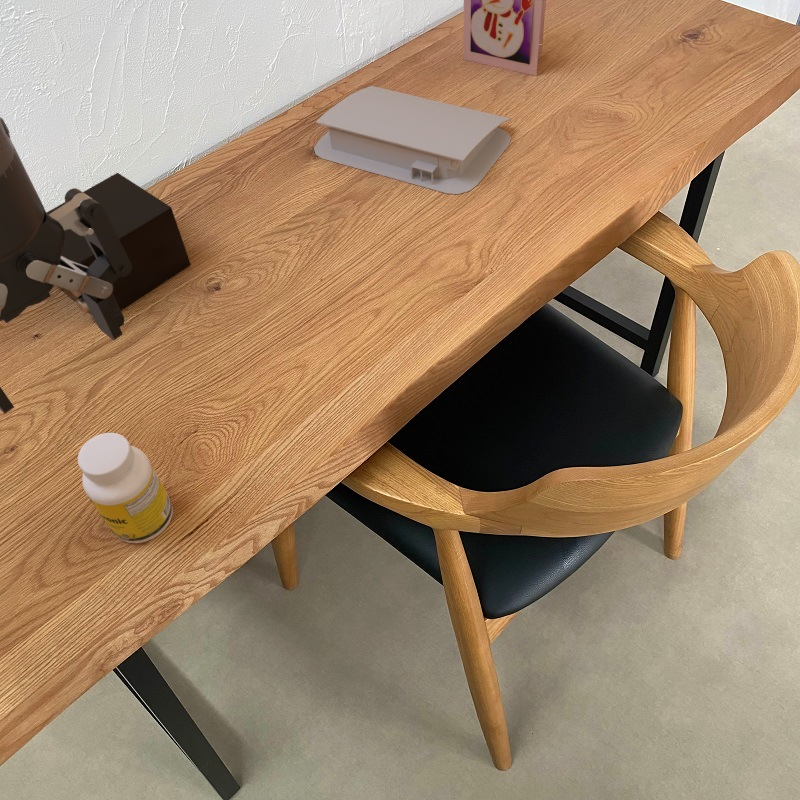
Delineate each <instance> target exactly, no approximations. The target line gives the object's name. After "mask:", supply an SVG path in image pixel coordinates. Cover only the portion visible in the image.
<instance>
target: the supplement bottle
mask: <svg viewBox="0 0 800 800" xmlns="http://www.w3.org/2000/svg"><path fill="white" fill-rule="evenodd" d="M77 463H78V467H79V468H80V470H81V472H82V478H81V483H82V488H83V490H84V492H85V494H86V496H87V498H89V500H90V501H91V503H92V505H94V507H95V509H96V510H97V512H98V513H99V515H100V516H101V517H102V519H103V520H104V521H105V523H106V525H107V526H108V528H109V529H110V531H111V532H112V534H114V536H115V537H116V538H118V539H119V540H120V541H122V542H125V543H128V544H142V543H146V542H149V541H151V540H154V539H155V538H156V537H158V536H159V535H161V534H162V533H163V532H165V530H166V529H167V527H168V526H169V525H170V523H171V521H172V518H173V514H174V507H173V506H174V505H173V503H172V500H171V498H170V495H169V494H168V492H167V490H166V489H165V487H164V484H163V483H162V481H161V479H160V478H159V476H158V473H157V472H156V470H155V468H154V467H153V464H152V463H151V461H150V459H149V458H148V457H147V455H146V453H145V452H144V451H142V450H141V449H140V448H137V447H136V446H133V445H131V444H130V442H129V440H128V439H127V438H126V437H125V436H123V435H122V434H120V433H116V432H103V433H100V434H97V435H95V436H92V437H91V438H90V439H88V440H87V441H86V442H85V443H84V444H83V445H82V446H81V448H80V449H79V451H78V455H77Z"/></svg>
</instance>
